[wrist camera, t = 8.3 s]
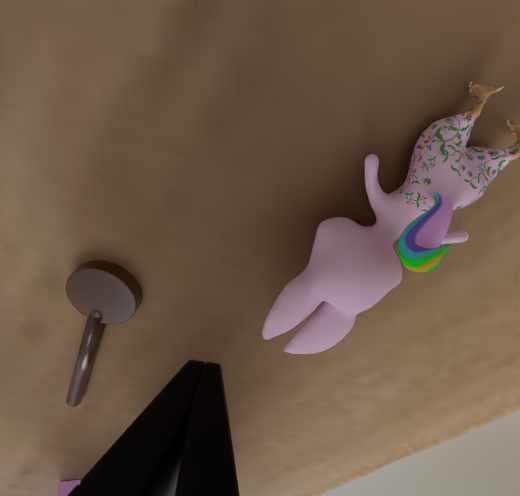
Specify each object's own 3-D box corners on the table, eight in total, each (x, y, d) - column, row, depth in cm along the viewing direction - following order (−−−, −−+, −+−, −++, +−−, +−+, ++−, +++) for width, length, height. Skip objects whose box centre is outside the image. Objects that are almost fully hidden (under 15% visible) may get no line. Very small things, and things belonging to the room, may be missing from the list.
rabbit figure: (425, 60, 14) (230, 300, 19) (532, 29, 9) (219, 378, 13) (515, 149, 16) (313, 350, 20) (654, 171, 10) (333, 440, 15)
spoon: (102, 405, 28) (95, 418, 27) (50, 387, 27) (42, 399, 26) (149, 278, 20) (142, 289, 19) (79, 249, 19) (68, 258, 18)
